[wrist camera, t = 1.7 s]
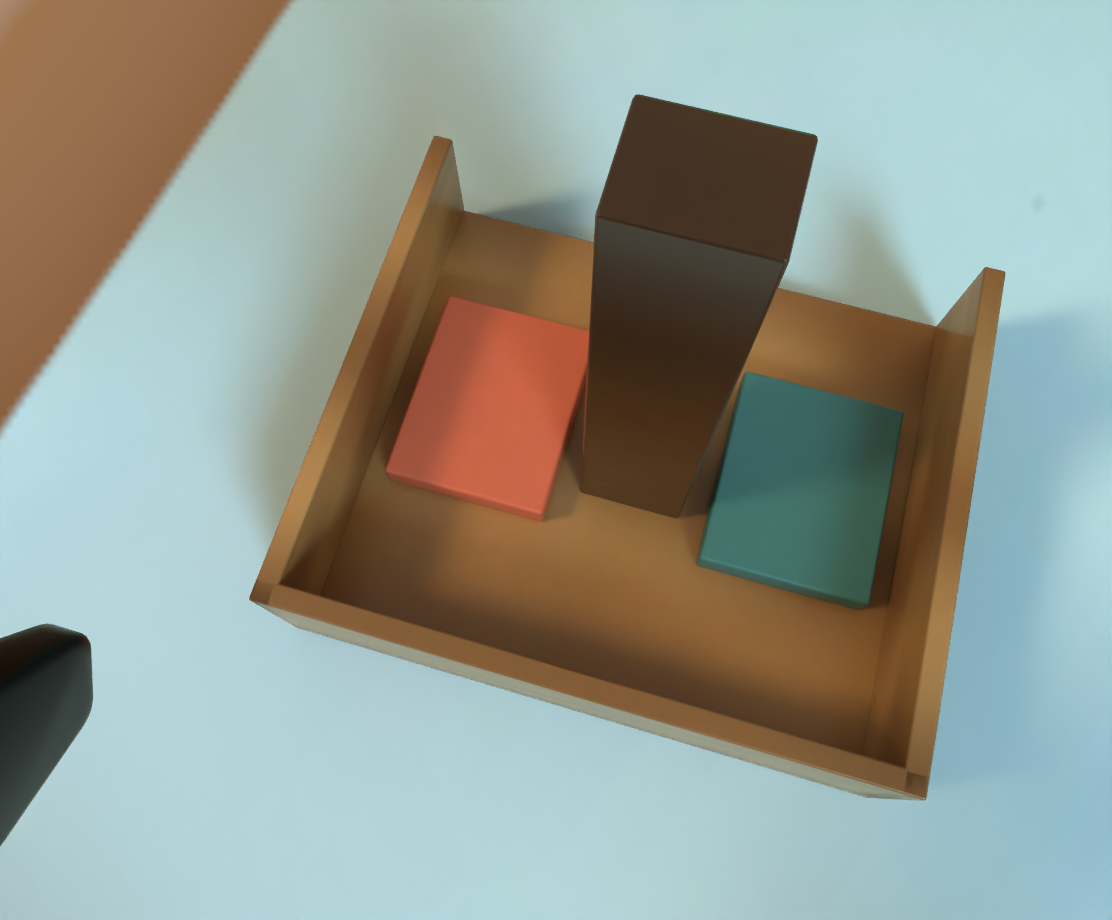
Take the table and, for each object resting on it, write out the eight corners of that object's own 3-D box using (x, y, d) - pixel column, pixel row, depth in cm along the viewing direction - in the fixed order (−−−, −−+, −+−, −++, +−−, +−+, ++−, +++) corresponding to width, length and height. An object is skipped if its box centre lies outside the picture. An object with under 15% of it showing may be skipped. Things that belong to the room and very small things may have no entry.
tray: (868, 798, 21) (1253, 817, 9) (294, 627, 23) (-2, 455, 11) (946, 341, 25) (1291, -58, 13) (450, 218, 26) (357, -243, 14)
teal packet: (859, 612, 22) (870, 605, 21) (694, 565, 22) (698, 558, 22) (894, 422, 24) (905, 410, 23) (739, 382, 24) (745, 369, 23)
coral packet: (542, 523, 23) (542, 515, 22) (389, 480, 23) (383, 470, 22) (597, 345, 24) (598, 331, 24) (452, 308, 25) (448, 293, 24)
